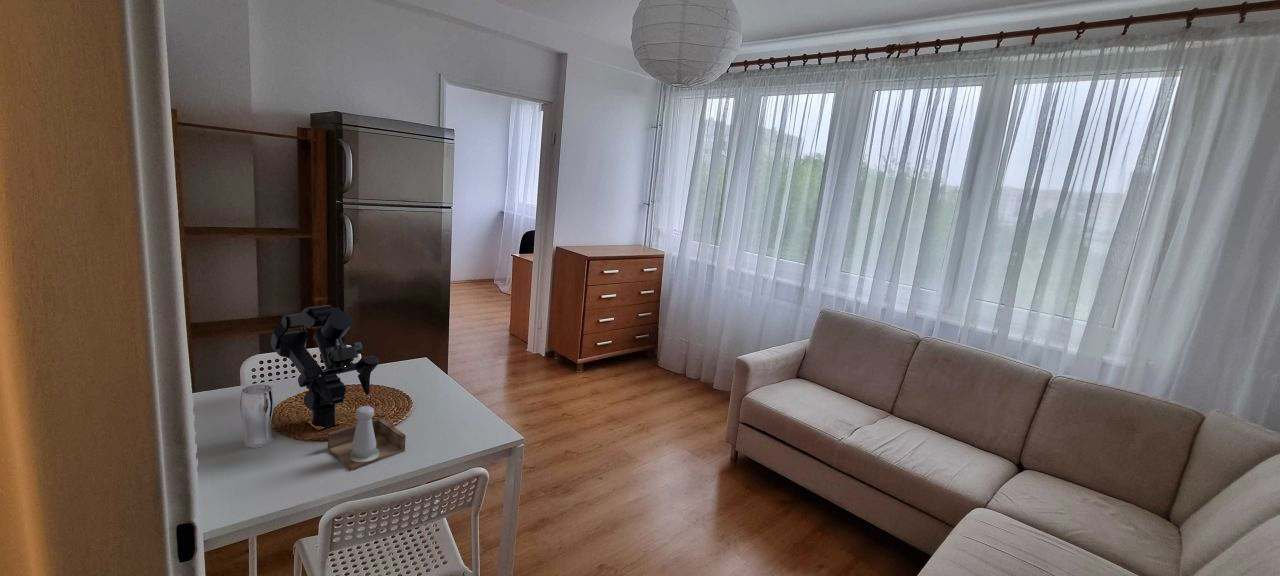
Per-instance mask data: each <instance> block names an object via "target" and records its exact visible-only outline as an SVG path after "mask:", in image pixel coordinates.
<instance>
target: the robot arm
mask: <svg viewBox="0 0 1280 576" xmlns="http://www.w3.org/2000/svg"><path fill="white" fill-rule="evenodd" d="M352 324H353V318H352V316H350V314H349V313H348V312H345V311H343V310H341V308H340V307H333V305H331V304H327V305H319V306H312V307H311V306H309V307H308V306H307V307H306V308H304V309H303V310H302V311H301V312H300V313H292V314H285V315H284V316H282V318H281V321H280V323H279V324H278V325H277V326H276V327H275V328H274V329H273V331H272V334H271V339H270V345H271V349H272V350H273V351H274V352H275V353H277V355H279V357H283V358H285V359H290V361H291V362H292V364H293V365H294V367H296V369H297V371H298V372H299V373H300V375H299V376H298V378H297V383H298V386H299V388H304V387H306V389H307V392H306V394H305V395H304V396H303V397H302V398H303V405H304V406H305V407H306V408H308V409H309V410H310V411H311V419H312V424H313V425H315V426H322V427H328V426H331V425H335V418H336V408H337V407H336V405H337V404H340V403H341V404H342V403H344V399H345V395H346V391H347V387H346V385H345V384H344V382H343V381H342V380H341V378H340V377H339V376H338V375H340V374H344V373H348V372H353V371H356V372H357V373H359V374H358V375H357V378H358V380H359V383H360V384H361V387H362V390H363V391H364V393H365V395H366V396H369V395H370V389H371V388H370V387H371V386H370V383H371V382H370V381H371V380H370V379H371V373H372V372H373V371H374V370H375V369H376V368H377V366H378V365H379V364H380V361H379V358H378V356H375V354H372V355H368V356H363V357H361V358H359V355H360V354H363V353H364V347H363V344H362V341H356V342H353V343H351V345H350V346H347V344H345V343H343V340H342V338H343V337H344V336H345V334H346V333H347V332H348V331H349V329H351V327H352ZM295 328H300V329H301V330H297V331H296V330H295V331H289V332H288V330H289V329H295ZM306 328H307V329H316V328H317V330H316V331H315V332H314V335H313V338H312V339H313V341H315V342H316V345H317V348H318V350H319V353H320V356H319V359H320V361H323V364H324V367H325V368H324V369H323V368H322V367H321V366H320V365H319V363H318V362H317V361H316V359H315V358H314V356H313V355H312V354H311V353H310V352H309V351H308V349H307V348H306V347H307V341H308V337H309V332H308V331H307V330H306ZM357 358H359V360H358V361H357V362H354V360H355V359H357ZM351 362H353V363H351ZM311 419H308V420H309V421H310V420H311ZM335 426H336V425H335ZM328 428H329V427H328Z"/></svg>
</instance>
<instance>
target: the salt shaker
mask: <svg viewBox="0 0 1280 576" xmlns="http://www.w3.org/2000/svg"><path fill="white" fill-rule="evenodd" d="M354 416H355V418H356V420H357V421H356V424H357V425H356V424H355V425H356V429H355V434H354V438H353V443H352V447H351V449H352V451H353V453H354V455H355V456H356V457H358V458H368V457H369V456H371V455H372V454H373V453H374V451H375V449H376V439H375V434H374V430H373V424H372V420H373V417H374V416H375V409H374V408H373V407H372V406H370V405H369V406H368V405H363V406H359V407H358V408H356V410H355V413H354Z"/></svg>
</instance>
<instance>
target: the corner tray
mask: <svg viewBox="0 0 1280 576" xmlns="http://www.w3.org/2000/svg"><path fill="white" fill-rule="evenodd" d="M372 424H373V430H374V434H375V439H376V449H375V451H374V453H373V454H372V455H371V456H369V457H368V458H358V457H356V456H355V455H354V453H353V451H352V449H351V447H352V443H353V438H354V434H355V429H356V425H357V423H356V424H354V425H350V426H347V427H344V428H339V429H337V430H333V431H331V432H327V450H328V451H329V453H331V454H332V455H333V456H335V457H336V458H337V459H338V460H339V461H340V462H341V463H342V464H343V465H344V466H346V467H347V468H348V469H349V470H350V471H354V470H357V469H359V468H362V467H365V466H368V465H371V464H374V463H377V462H379V461H381V460H384V459H387V458H389V457H392V456H396V455H398V453H399V454H401V453H404V452H405V451H406V434H405V433H403V432H402V431H400V430H399V429H398V428H397V427H395V426H394V425H392V424H391V423H389V422H388V421H387V420H385V419H384V418H383V417H377V418H374V419H373V418H372Z"/></svg>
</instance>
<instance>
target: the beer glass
mask: <svg viewBox="0 0 1280 576" xmlns="http://www.w3.org/2000/svg"><path fill="white" fill-rule="evenodd" d="M274 402H275V401H274V391H273V386H272V385H270V384H266V383H260V384H259V383H257V384H252V385H248V386H245V387H244V388H241V389H240V399H239V404H240V405H239V408H240V415H241V418H242V423H243V426H244V433H245V435H244V440H243V445H244V447H246V448H248V449H259V448H263V447H265V446H268V445H270V444H272V442H273V436H272V433H271V432H272V431H271V423H272V419H273V415H274V414H273V413H274V408H275V405H274V404H275V403H274Z"/></svg>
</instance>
